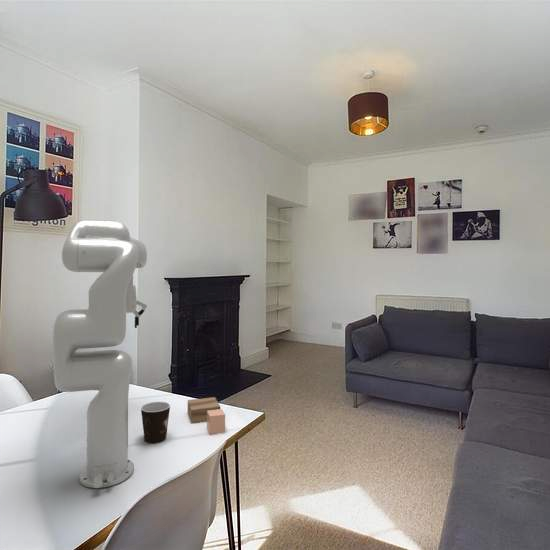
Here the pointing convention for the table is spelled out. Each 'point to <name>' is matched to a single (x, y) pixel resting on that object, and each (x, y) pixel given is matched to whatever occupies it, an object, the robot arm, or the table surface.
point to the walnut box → (201, 409)
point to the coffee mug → (155, 421)
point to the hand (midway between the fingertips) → (121, 328)
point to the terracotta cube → (215, 421)
